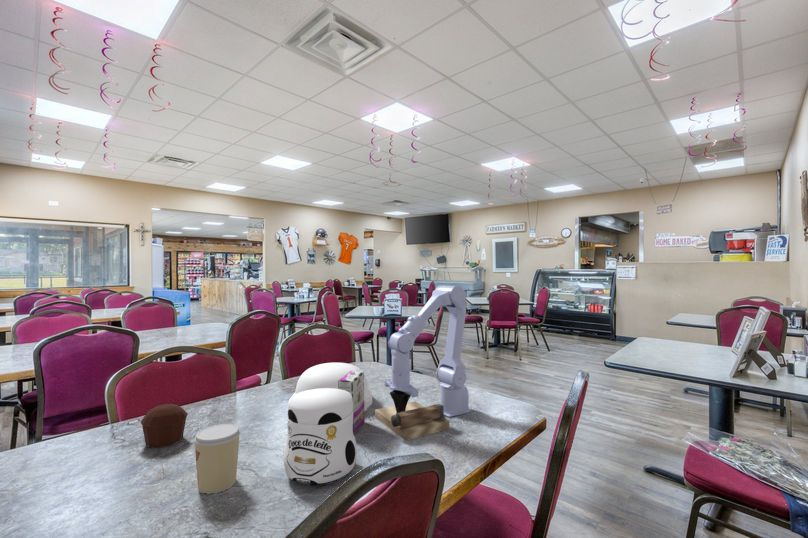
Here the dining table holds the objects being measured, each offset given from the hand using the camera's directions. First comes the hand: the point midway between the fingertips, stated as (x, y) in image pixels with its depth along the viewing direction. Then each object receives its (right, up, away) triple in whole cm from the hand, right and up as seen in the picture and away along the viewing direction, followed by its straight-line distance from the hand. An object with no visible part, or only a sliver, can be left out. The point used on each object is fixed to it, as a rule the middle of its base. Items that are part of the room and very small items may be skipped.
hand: (400, 414), depth 115 cm
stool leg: (+6, 0, -4) cm, 7 cm away
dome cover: (-26, -5, +21) cm, 34 cm away
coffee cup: (-42, -4, -32) cm, 53 cm away
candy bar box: (-15, -4, -1) cm, 16 cm away
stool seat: (+3, -4, +2) cm, 5 cm away
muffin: (-68, -4, -10) cm, 69 cm away
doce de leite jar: (-19, -4, -27) cm, 33 cm away
